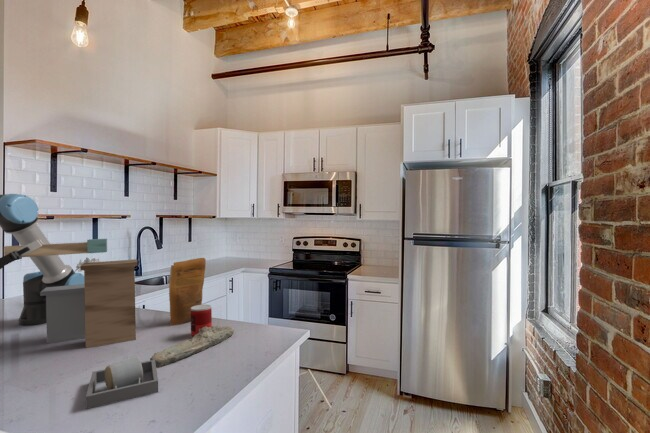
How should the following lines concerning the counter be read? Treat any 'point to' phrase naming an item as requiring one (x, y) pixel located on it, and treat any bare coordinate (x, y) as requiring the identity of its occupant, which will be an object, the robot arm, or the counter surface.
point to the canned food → (200, 318)
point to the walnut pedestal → (109, 302)
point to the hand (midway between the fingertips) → (40, 242)
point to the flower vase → (85, 262)
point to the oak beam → (64, 248)
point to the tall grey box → (65, 312)
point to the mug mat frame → (121, 388)
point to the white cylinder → (124, 373)
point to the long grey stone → (193, 345)
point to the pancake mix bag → (185, 289)
